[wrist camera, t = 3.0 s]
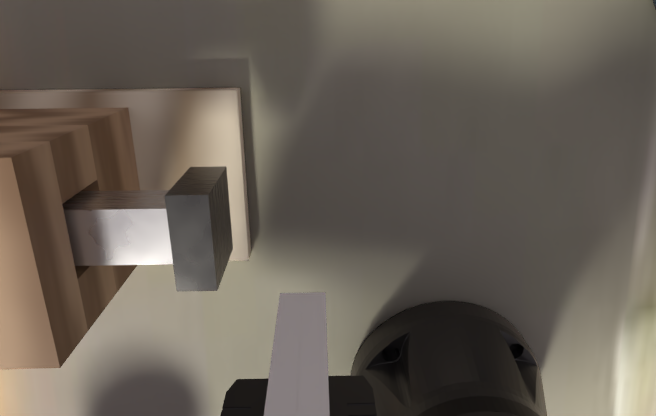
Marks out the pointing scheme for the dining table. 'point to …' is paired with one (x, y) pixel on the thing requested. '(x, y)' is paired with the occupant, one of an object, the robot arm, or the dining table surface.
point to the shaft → (158, 228)
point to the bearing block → (94, 175)
